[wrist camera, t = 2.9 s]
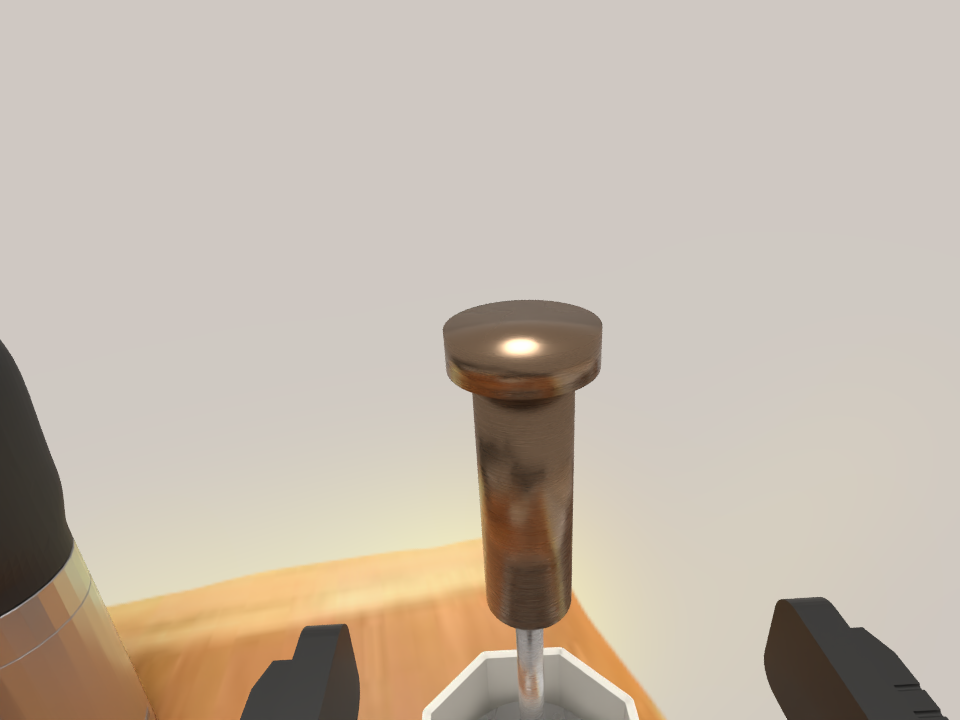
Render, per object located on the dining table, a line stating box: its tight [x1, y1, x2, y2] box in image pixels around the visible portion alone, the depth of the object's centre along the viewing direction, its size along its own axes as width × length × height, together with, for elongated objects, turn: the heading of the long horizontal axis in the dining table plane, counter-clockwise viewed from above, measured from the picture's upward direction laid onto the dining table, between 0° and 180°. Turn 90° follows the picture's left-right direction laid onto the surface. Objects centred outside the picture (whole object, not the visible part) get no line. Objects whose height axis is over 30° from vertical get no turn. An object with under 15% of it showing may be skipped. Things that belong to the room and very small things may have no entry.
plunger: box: [443, 300, 602, 720], centre depth 20 cm, size 8×8×23 cm
